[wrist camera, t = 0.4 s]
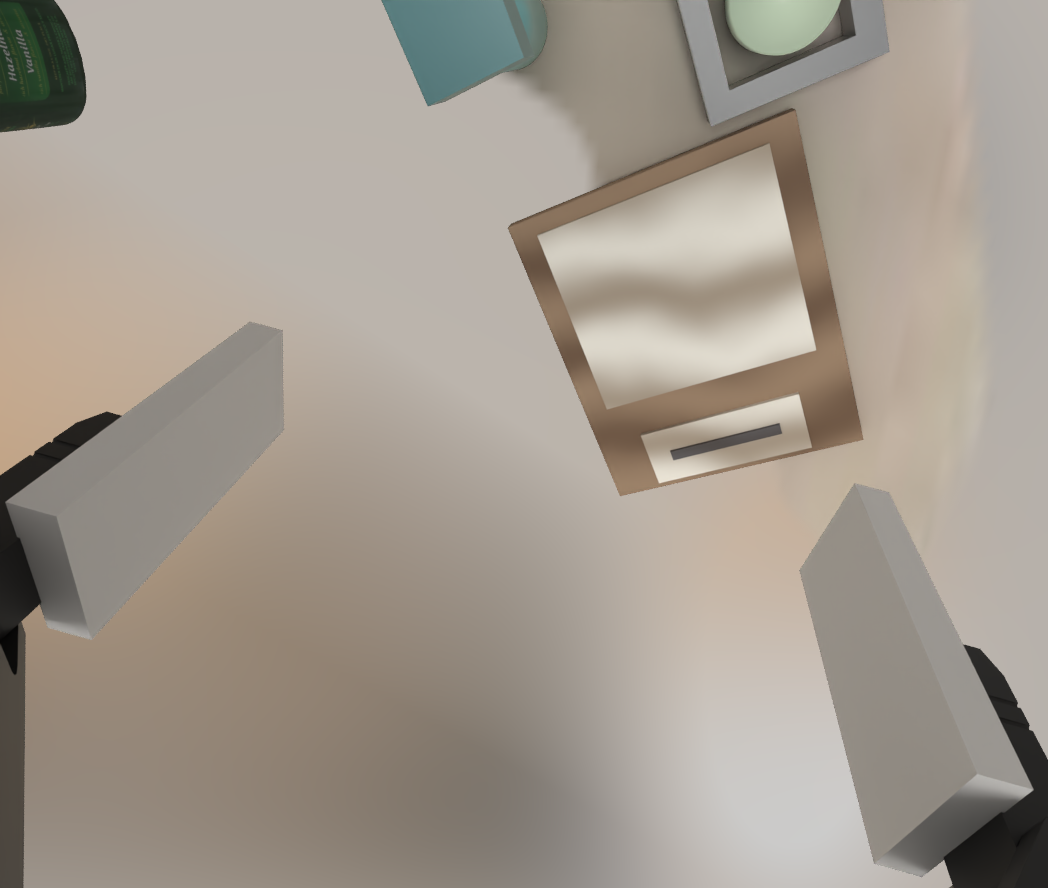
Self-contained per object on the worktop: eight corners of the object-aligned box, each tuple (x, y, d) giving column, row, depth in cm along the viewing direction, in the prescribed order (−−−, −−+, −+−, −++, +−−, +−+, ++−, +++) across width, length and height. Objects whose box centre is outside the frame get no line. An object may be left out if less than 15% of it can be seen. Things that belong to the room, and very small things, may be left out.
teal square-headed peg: (458, 2, 33) (375, -13, 24) (532, -40, 32) (476, -73, 22) (491, 88, 35) (427, 106, 26) (563, 52, 34) (524, 57, 24)
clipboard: (511, 223, 39) (506, 229, 37) (792, 108, 33) (797, 110, 32) (620, 487, 47) (619, 500, 46) (859, 431, 42) (865, 443, 40)
